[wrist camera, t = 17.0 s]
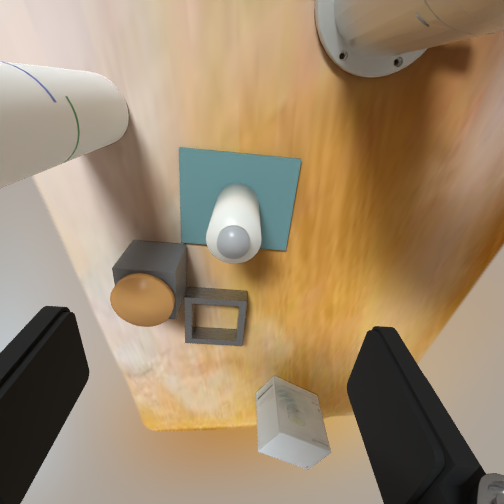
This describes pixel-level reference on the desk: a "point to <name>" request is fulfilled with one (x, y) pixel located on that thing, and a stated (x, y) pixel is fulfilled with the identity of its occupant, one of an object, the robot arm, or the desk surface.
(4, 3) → the desk surface
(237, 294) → the frame
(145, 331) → the desk surface
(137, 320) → the plunger
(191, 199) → the pad
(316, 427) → the skincare box
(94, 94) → the cylindrical container
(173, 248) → the plunger housing
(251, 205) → the cylinder
